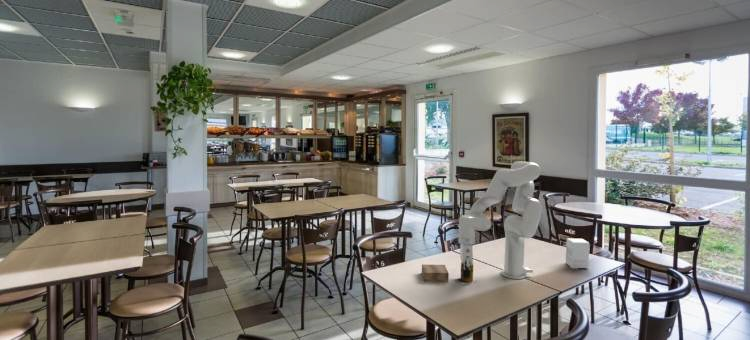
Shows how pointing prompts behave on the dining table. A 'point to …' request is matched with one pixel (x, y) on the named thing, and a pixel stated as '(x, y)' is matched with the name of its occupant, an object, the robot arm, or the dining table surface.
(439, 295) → the dining table surface
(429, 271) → the riser
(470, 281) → the condiment
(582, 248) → the supplement box
